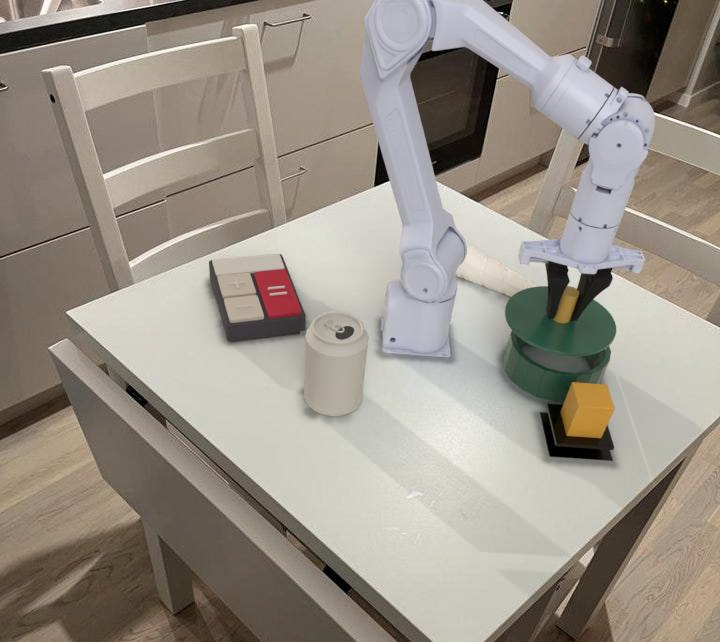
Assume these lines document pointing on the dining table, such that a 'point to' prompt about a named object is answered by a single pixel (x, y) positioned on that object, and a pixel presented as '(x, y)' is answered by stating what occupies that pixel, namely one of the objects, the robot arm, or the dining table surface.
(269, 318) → the calculator
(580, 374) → the tin
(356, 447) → the dining table surface
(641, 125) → the robot arm
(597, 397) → the block
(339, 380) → the can
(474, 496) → the dining table surface
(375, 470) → the dining table surface
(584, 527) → the dining table surface
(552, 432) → the stand
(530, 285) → the unicorn horn
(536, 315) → the tin lid
